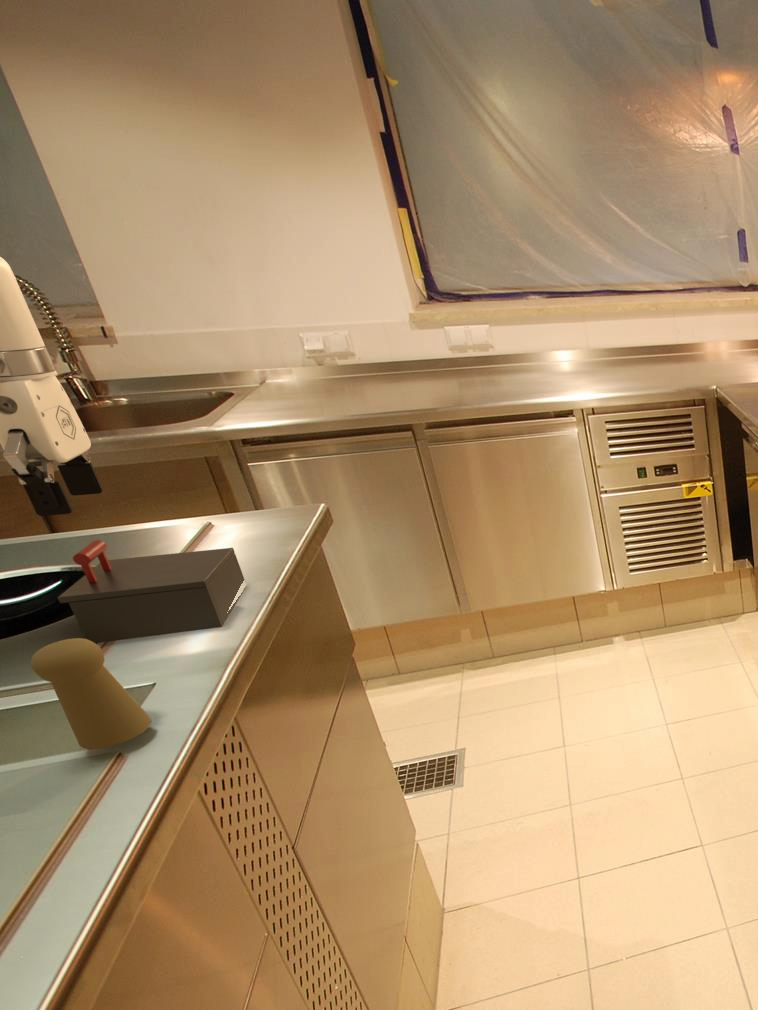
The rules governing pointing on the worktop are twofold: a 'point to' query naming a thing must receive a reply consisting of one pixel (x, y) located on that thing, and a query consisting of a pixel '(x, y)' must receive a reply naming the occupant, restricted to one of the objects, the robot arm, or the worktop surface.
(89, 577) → the box lid
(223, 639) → the worktop surface
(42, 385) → the robot arm
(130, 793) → the worktop surface
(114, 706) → the cork
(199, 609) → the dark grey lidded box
